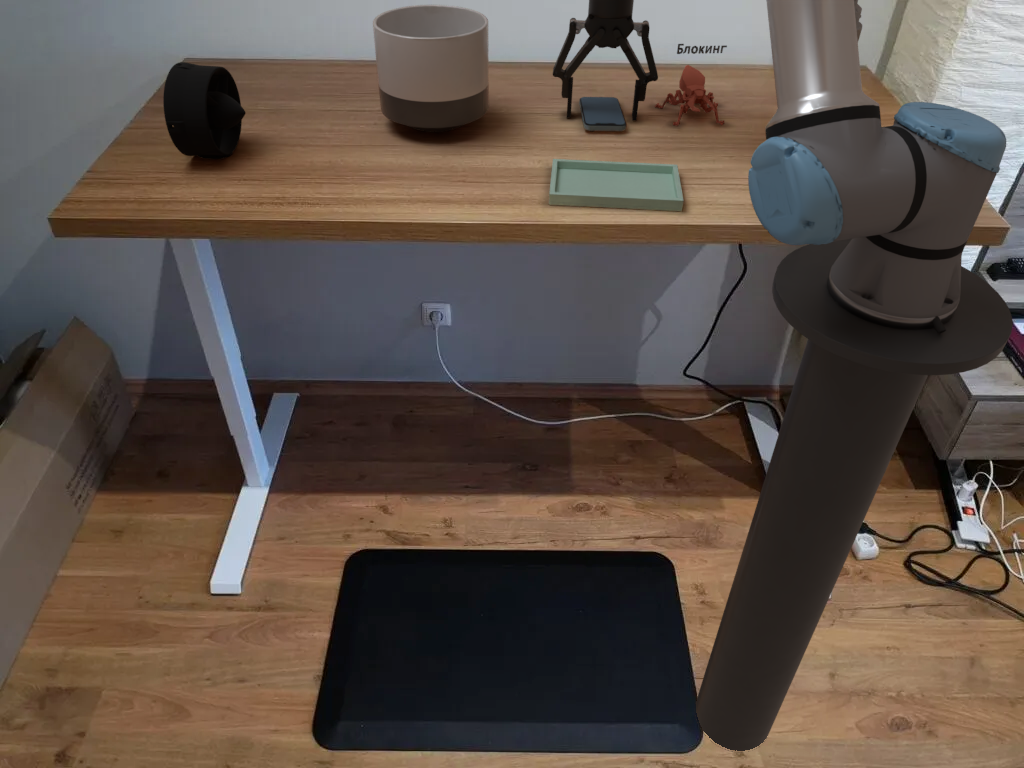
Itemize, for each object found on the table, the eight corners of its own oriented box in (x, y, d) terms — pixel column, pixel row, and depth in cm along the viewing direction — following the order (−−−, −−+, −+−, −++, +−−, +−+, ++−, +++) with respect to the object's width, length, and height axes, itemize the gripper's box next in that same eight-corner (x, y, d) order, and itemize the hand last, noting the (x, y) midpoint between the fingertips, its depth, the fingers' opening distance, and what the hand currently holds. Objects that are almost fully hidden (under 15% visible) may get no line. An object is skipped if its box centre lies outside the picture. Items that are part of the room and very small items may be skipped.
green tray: (681, 211, 121) (683, 200, 120) (548, 204, 122) (549, 193, 121) (675, 174, 131) (677, 164, 129) (552, 168, 132) (552, 158, 131)
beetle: (651, 101, 155) (659, 33, 147) (713, 100, 156) (725, 32, 148) (669, 132, 144) (680, 60, 136) (736, 130, 145) (751, 59, 137)
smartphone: (618, 96, 154) (627, 124, 142) (617, 105, 155) (626, 133, 143) (578, 95, 154) (584, 124, 142) (578, 104, 155) (583, 133, 143)
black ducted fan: (218, 83, 119) (153, 80, 120) (238, 174, 129) (178, 171, 129) (251, 52, 130) (192, 49, 131) (268, 138, 140) (212, 135, 140)
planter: (361, 132, 142) (349, 27, 131) (416, 97, 156) (410, -2, 144) (457, 153, 136) (454, 44, 125) (506, 114, 149) (507, 13, 138)
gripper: (681, -15, 137) (664, 111, 151) (542, -20, 138) (538, 105, 152) (685, -3, 131) (667, 127, 145) (540, -8, 132) (536, 121, 146)
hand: (601, 116), depth 149 cm, fingers open, 11 cm apart
